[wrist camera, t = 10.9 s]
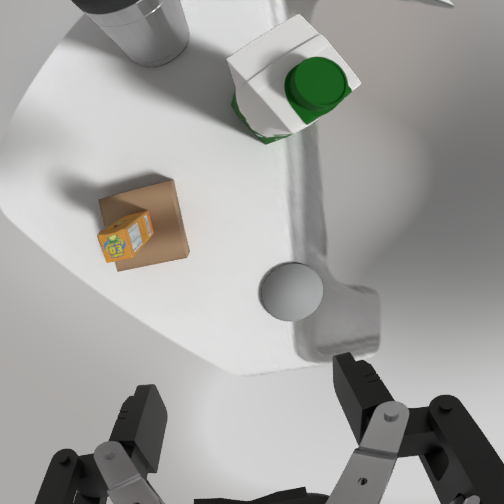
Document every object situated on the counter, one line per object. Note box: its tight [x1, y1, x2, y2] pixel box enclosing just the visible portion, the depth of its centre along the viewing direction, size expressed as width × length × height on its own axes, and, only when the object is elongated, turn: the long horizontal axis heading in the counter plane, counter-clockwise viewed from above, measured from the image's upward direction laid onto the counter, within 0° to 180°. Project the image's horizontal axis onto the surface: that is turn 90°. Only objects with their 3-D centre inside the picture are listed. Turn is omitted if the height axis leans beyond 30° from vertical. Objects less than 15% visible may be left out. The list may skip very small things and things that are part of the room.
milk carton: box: [226, 14, 361, 145], centre depth 27 cm, size 9×9×20 cm
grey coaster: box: [262, 263, 323, 321], centre depth 44 cm, size 9×9×1 cm
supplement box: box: [97, 211, 154, 263], centre depth 32 cm, size 3×3×10 cm
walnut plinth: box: [99, 180, 190, 272], centre depth 39 cm, size 10×10×3 cm
